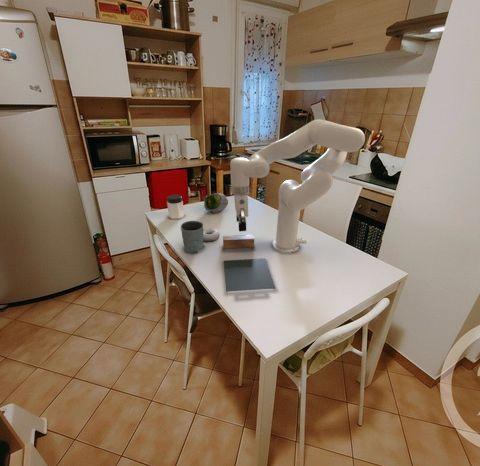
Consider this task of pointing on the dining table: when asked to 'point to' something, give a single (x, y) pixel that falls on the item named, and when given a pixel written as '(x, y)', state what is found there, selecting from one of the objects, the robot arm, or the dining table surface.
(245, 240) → the eraser
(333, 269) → the dining table surface
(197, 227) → the gray cup
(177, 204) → the jar
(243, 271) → the slate board
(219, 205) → the potted plant
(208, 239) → the donut
